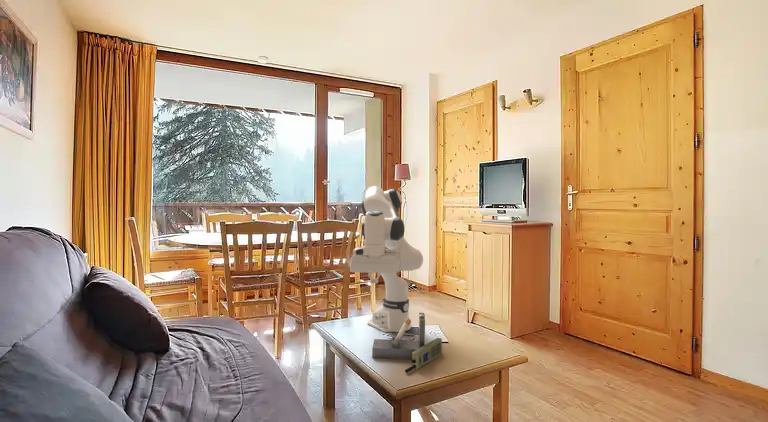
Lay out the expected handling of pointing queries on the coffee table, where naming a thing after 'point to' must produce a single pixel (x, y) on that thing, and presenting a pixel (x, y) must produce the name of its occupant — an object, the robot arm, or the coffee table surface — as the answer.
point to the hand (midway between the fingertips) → (374, 283)
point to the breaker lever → (403, 329)
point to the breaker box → (399, 345)
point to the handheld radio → (426, 354)
